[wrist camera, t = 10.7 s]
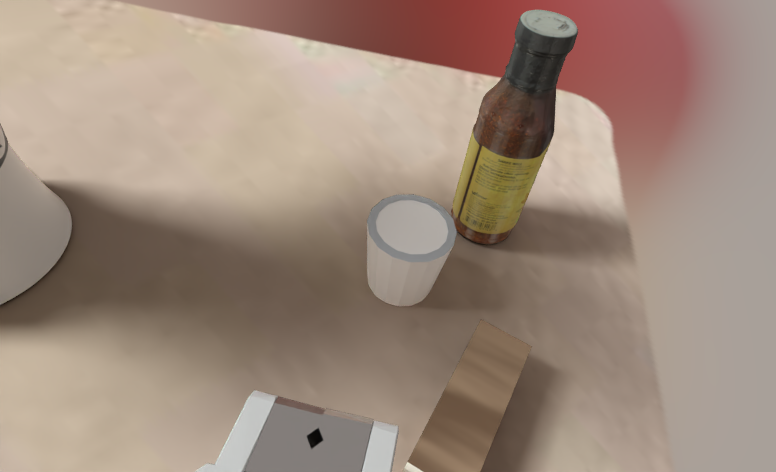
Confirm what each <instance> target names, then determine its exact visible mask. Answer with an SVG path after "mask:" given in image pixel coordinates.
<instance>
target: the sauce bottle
mask: <svg viewBox="0 0 776 472" xmlns="http://www.w3.org/2000/svg"><path fill="white" fill-rule="evenodd" d="M577 33H578V29H577V27H576V24H575V23H574V22H573V21H572V20H571V19H569V18H567V17H566V16H563V15H561V14H558V13H554V12H550V11H544V10H532V11H527V12H525V13H524V14H522V15H521V17H520V19H519V22H518V25H517V28H516V31H515V41H516V42H515V45H514V49H513V51H512V54H511V58H510V61H509V64H508V65H507V66H506V72H505V75H504V76H503V77H502V78H501V80H500V81H499V82H498V83H497V85H495V86H494V87H493V88H492V89H491V90H490V91H488V92H487V93H486V95H485V96H484V98H483V100H482V103H481V106H480V109H479V115H478V118H477V121H476V124H475V125H474V128H473V131H472V135H471V138H470V142H469V146H468V150H467V153H466V157H465V161H464V164H463V168H462V172H461V175H460V179H459V182H458V186H457V190H456V194H455V197H454V201H453V208H452V210H451V212H452V218H453V221H454V224H455V227H456V229H457V231H458V232H459V233H460V234H461V235H463V236H464V237H466V238H467V239H470V240H471V241H473V242H477V243H480V244H481V243H482V244H495V243H497V242H501V241H503V240H504V239H506V238H507V237H508V235H509V233H510V232H511V230H512V228H513V227H514V226H515V225H516V223H517V221H518V219H519V216H520V214H521V211H522V209H523V207H524V204H525V202H526V200H527V197H528V195H529V192H530V190H531V188H532V186H533V183H534V181H535V178H536V176H537V173H538V171H539V168H540V167H541V164H542V161H543V159H544V156H545V154H546V152H547V150H548V147H549V145H550V142H551V139H552V137H553V133H554V121H555V101H556V84H557V81H558V76H559V73H560V71H561V69H562V66H563V63H564V61H565V57H566V56H567V54H568V53H569V52H570V51H571V50H572V48H573V46H574V43H575V40H576V37H577Z"/></svg>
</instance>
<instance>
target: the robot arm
mask: <svg viewBox="0 0 776 472" xmlns="http://www.w3.org/2000/svg"><path fill="white" fill-rule="evenodd" d="M71 229H72V220H71V215H70V212H69V210H68V207H67V206H66V204H65V203H64V202H63V200H62V199H61V198H60V197H59V196H57V195H56V194H55V193H54V192H52V191H51V190H50V189H49V188H48V187H47V186H46V185H44V184H43V183H42V182H41V181H40V180H39V179H38V178H37V177H36V176H35V175H34V174H33V172H32V171H31V170H30V169H29V168H28V167H27V166H26V165H25V163H24V162H23V161H22V160H21V159H20V157H19V156H18V155H17V154H16V152H15V151H14V150H13V149H12V147H11V146H10V145H9V143H8V141H7V138H6V136H5V133H4V131H3V128H2V126H1V124H0V305H1V304H3V303H5V302H7V301H8V300H10V299H12V298H14V297H16V296H17V295H19V294H21V293H22V292H24V291H25V290H27V289H28V288H29V287H31V286H32V285H34V284H35V283H36V282H37V281H39V280H40V279H41V278H42V277H43V276H44V275H45V274H46V273H47V272H48V271H49V270H50V269H51V268H52V267H53V266H54V265H55V264H56V262H57V261H58V260H59V258H60V257H61V255H62V254H63V252H64V250H65V248H66V246H67V244H68V242H69V239H70V235H71ZM372 424H373V425H372ZM371 429H372V430H371ZM398 432H399V430H398V426H397V425H393V424H388V423H384V422H379V421H375V420H374V421H373V419H371V418H366V417H362V416H358V415H353V414H349V413H345V412H340V411H336V410H332V409H327V408H326V409H324V408H321V407H317V406H313V405H309V404H305V403H302V402H298V401H294V400H290V399H286V398H283V397H279V396H276V395H272V394H268V393H264V392H260V391H256V390H254V391H253V392H252V394H251V395H250V396H249V397H248V399H247V401H246V403H245V405H244V407H243V409H242V411H241V413H240V415H239V417H238V419H237V421H236V423H235V425H234V427H233V429H232V431H231V433H230V435H229V437H228V439H227V441H226V443H225V445H224V447H223V449H222V451H221V453H220V455H219V457H218V459H217V461H216V463H215V465H214V464H210V463H206V464H205V465H204V466H202V467H201V468H199V469H198V470H197V471H195V472H392V466H393V460H394V455H395V449H396V443H397V438H398Z"/></svg>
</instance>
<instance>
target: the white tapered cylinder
mask: <svg viewBox="0 0 776 472" xmlns="http://www.w3.org/2000/svg"><path fill="white" fill-rule="evenodd" d="M456 234H457V231H456V228H455V224H454V221H453V218H452V217H451V216H450V215H449V214H448V212H447V211H446V210H445V209H444V207H442V206H440V205H439V204H437V203H435V202H434V201H432V200H431V199H428V198H424V197H421V196H417V195H414V194H413V195H395V196H392V197H389V198H386V199H383V200H381V201H380V202H379V203H378V204H377V205H376V206H374V207H373V208H372V210H371V212H370V215H369V217H368V220H367V277H368V285H369V287H370V288H371V290H372V292H373V293H374V295H375V296H377V297H378V298H379V299H381V300H382V301H384V302H385V303H388V304H391V305H395V306H412V305H414V304H416V303H419V302H421V301H422V300H423V299H424V298H425V297H426V296H427V295H428V294H429V292H430V290H431V289H432V287H433V285H434V283H435V281H436V279H437V277H438V275H439V273H440V271H441V269H442V267H443V265H444V263H445V261H446V259H447V257H448V255H449V254H450V252H451V250H452V248H453V246H454V242H455V238H456Z"/></svg>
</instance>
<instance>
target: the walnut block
mask: <svg viewBox="0 0 776 472" xmlns="http://www.w3.org/2000/svg"><path fill="white" fill-rule="evenodd" d="M531 347H532V346H530V345H528V344H526V343H524V342H523V341H521V340H519V339H517V338H515V337H513V336H511V335H509V334H507V333H506V332H504V331H502V330H500V329H498V328H496V327H494V326H492V325H491V324H489V323H487V322H485V321H483V320H480V322H479V324H478V326H477V328H476V330H475V332H474V334H473V336H472V338H471V340H470V342H469V344H468V346H467V347H466V349H465V351H464V353H463V355H462V357H461V359H460V361H459V363H458V365H457V367H456V369H455V371H454V373H453V375H452V377H451V379H450V380H449V382H448V384H447V386H446V388H445V390H444V392H443V394H442V396H441V398H440V400H439V402H438V404H437V406H436V408H435V410H434V412H433V413H432V415H431V417H430V419H429V421H428V423H427V425H426V427H425V429H424V431H423V433H422V435H421V437H420V439H419V441H418V443H417V445H416V446H415V448H414V450H413V452H412V454H411V456H410V458H409V460H408V462H407V464H406V466H405V468H404V470H403V472H480V471H481V469H482V466H483V464H484V461H485V459H486V457H487V454H488V452H489V449H490V447H491V444H492V442H493V440H494V437H495V435H496V432H497V430H498V427H499V425H500V423H501V420H502V418H503V415H504V413H505V410H506V408H507V406H508V403H509V401H510V398H511V396H512V393H513V391H514V389H515V386H516V384H517V381H518V379H519V376H520V374H521V372H522V369H523V367H524V364H525V362H526V359H527V357H528V355H529V352H530V350H531Z"/></svg>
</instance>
